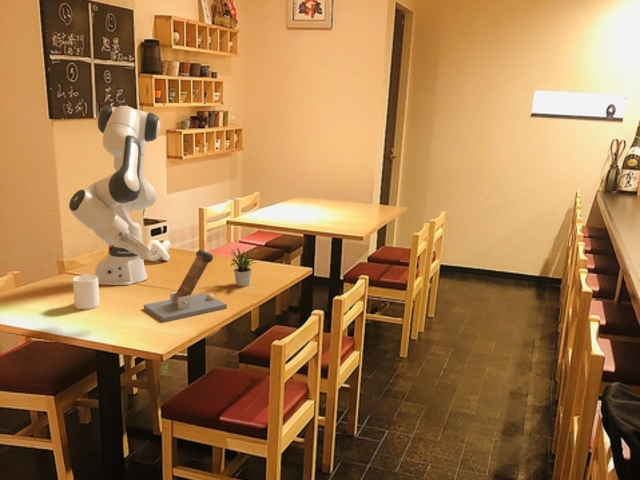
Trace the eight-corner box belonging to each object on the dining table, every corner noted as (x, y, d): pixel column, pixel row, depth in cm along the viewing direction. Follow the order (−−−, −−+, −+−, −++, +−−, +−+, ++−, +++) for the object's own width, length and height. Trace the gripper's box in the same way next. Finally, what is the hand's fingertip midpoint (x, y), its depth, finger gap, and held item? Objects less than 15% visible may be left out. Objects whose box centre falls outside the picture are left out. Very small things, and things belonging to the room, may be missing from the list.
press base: (163, 322, 198) (163, 306, 197) (143, 308, 210) (143, 293, 209) (226, 308, 213) (226, 293, 212) (204, 296, 225) (204, 282, 224)
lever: (180, 300, 206) (207, 252, 209) (172, 296, 211) (198, 248, 214) (187, 304, 208) (214, 256, 211) (179, 299, 213) (205, 252, 216)
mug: (85, 298, 219) (83, 271, 217) (107, 299, 219) (105, 272, 216) (70, 309, 207) (68, 281, 205) (93, 310, 207) (92, 282, 205)
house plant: (214, 286, 237) (214, 246, 233) (232, 277, 250) (232, 239, 246) (246, 291, 232) (246, 250, 228) (263, 282, 245) (263, 243, 241)
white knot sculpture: (157, 255, 282) (156, 237, 280) (178, 258, 278) (178, 239, 276) (141, 261, 272) (140, 241, 270) (163, 264, 268) (162, 244, 266)
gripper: (134, 229, 183) (164, 255, 191) (109, 218, 198) (138, 243, 206) (120, 245, 181) (152, 271, 189) (96, 232, 196) (126, 257, 204)
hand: (144, 256), depth 198 cm, fingers closed
